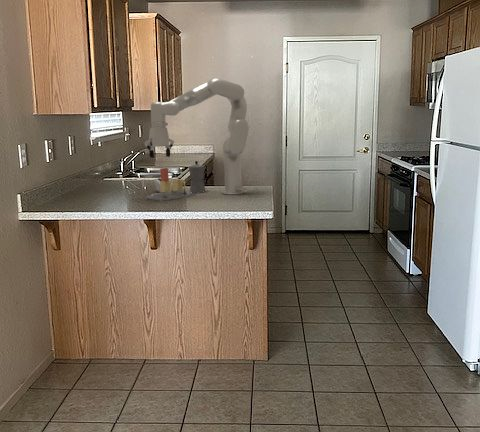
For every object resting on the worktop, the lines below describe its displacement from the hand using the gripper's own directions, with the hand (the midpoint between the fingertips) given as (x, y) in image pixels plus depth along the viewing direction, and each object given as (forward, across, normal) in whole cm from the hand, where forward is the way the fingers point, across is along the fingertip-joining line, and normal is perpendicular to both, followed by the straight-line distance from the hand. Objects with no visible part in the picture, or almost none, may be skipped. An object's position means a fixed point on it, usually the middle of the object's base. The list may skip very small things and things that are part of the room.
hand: (160, 157), depth 298 cm
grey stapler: (+23, -10, -18) cm, 31 cm away
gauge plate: (+22, -6, 0) cm, 23 cm away
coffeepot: (+22, -27, -7) cm, 36 cm away
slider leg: (+21, -4, 0) cm, 21 cm away
